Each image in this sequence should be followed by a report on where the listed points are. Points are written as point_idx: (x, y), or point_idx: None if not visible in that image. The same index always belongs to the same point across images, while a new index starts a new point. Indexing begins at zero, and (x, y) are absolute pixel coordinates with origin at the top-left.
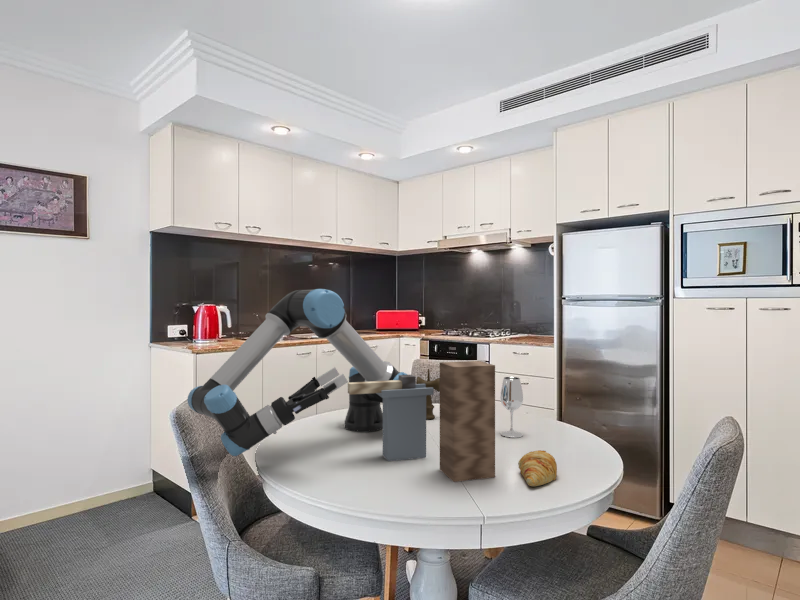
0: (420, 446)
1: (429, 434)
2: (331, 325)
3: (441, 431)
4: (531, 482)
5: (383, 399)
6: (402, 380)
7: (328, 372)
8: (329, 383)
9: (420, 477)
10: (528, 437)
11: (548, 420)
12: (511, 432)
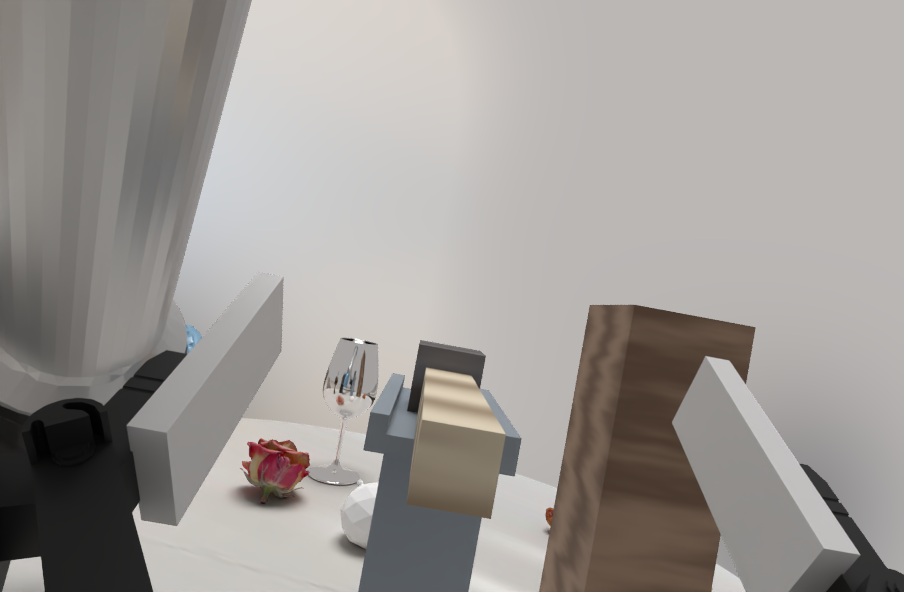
0: None
1: (184, 551)
2: None
3: (610, 545)
4: (711, 589)
5: (397, 478)
6: (476, 370)
7: (250, 329)
8: (803, 483)
9: None
10: (366, 472)
11: (282, 422)
12: (340, 470)
